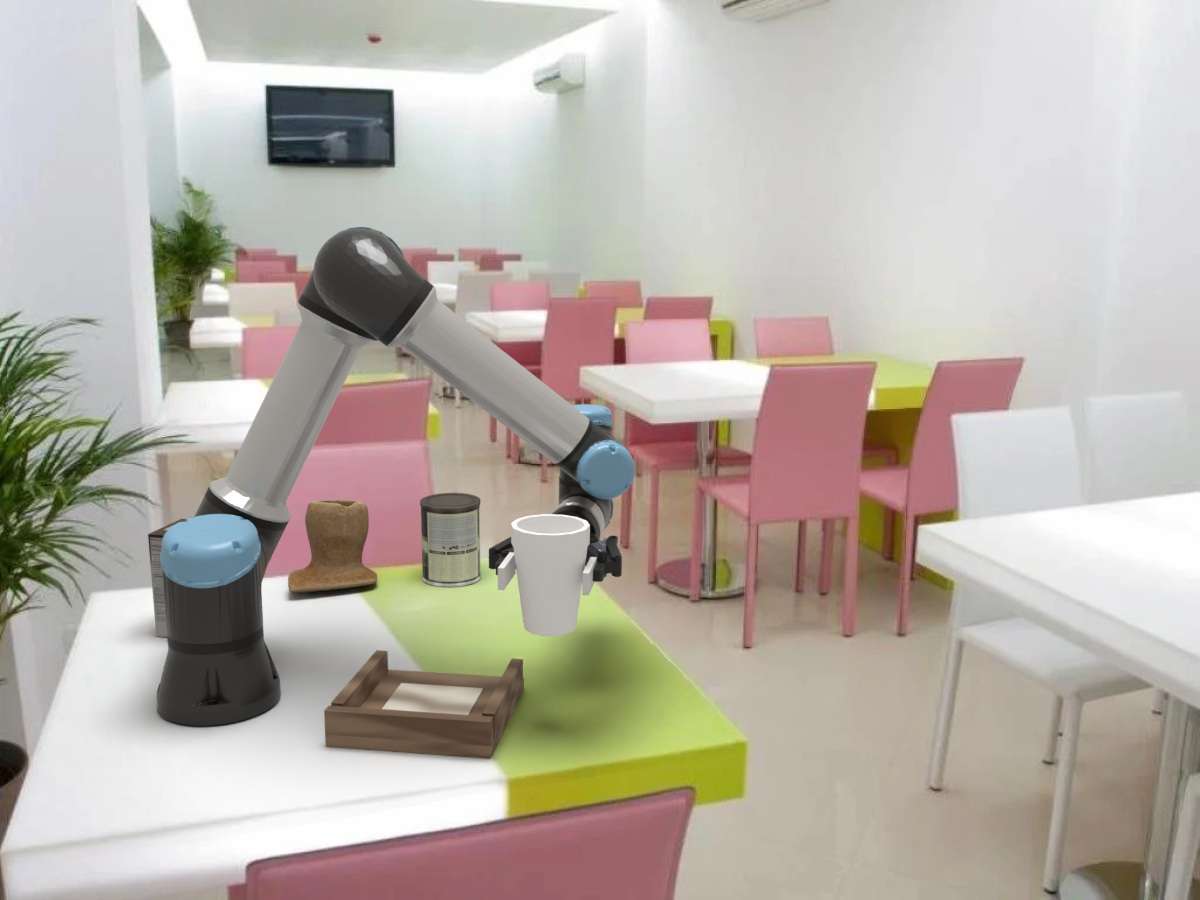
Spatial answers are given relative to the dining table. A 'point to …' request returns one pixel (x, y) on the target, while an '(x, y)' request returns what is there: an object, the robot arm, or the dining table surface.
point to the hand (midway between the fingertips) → (543, 581)
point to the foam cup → (550, 570)
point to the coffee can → (450, 539)
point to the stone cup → (334, 547)
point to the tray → (423, 710)
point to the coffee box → (158, 578)
